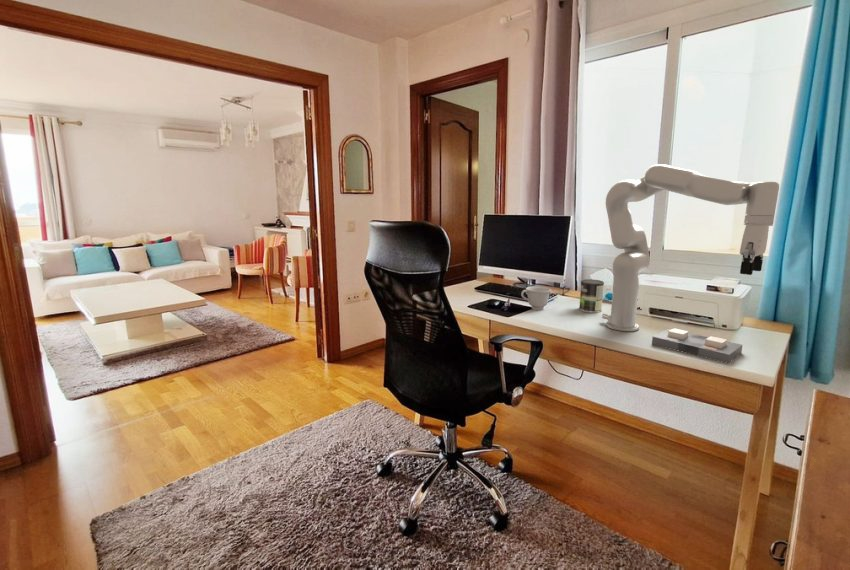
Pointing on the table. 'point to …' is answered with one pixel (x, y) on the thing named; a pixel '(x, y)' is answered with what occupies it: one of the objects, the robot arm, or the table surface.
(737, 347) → the switch panel
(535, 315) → the table surface
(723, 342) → the switch right
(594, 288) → the coffee can
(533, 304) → the teacup
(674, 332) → the switch left
